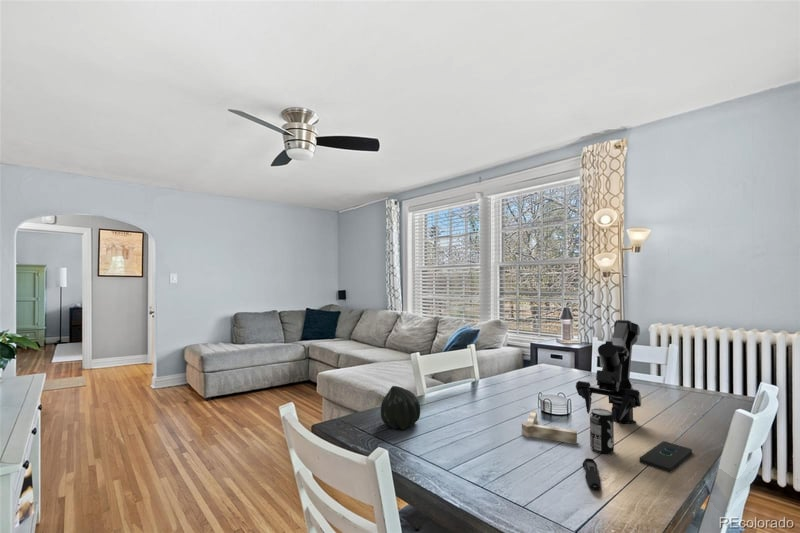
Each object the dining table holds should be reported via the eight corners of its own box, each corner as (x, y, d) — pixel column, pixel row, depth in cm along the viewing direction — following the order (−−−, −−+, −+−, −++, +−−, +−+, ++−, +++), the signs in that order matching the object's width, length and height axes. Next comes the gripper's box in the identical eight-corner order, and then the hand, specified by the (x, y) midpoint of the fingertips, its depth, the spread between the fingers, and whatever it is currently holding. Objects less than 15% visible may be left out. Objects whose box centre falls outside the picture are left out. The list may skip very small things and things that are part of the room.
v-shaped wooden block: (534, 419, 149) (534, 410, 149) (580, 443, 128) (580, 432, 128) (505, 423, 145) (505, 414, 145) (547, 449, 124) (547, 437, 124)
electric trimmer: (586, 493, 99) (586, 480, 99) (582, 465, 114) (582, 454, 114) (603, 496, 98) (603, 483, 98) (596, 467, 112) (596, 456, 112)
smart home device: (693, 448, 121) (670, 468, 109) (693, 454, 121) (670, 474, 109) (662, 440, 128) (637, 457, 115) (662, 445, 128) (638, 463, 115)
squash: (434, 411, 142) (413, 375, 149) (407, 424, 131) (385, 385, 138) (413, 430, 149) (393, 395, 156) (385, 443, 138) (365, 405, 145)
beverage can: (613, 448, 125) (612, 409, 125) (614, 456, 119) (614, 416, 119) (590, 444, 127) (589, 406, 128) (590, 452, 121) (589, 413, 122)
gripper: (576, 357, 136) (567, 396, 127) (639, 364, 124) (633, 408, 115) (583, 375, 142) (574, 414, 133) (643, 384, 130) (638, 428, 121)
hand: (603, 416), depth 125 cm, fingers open, 9 cm apart
